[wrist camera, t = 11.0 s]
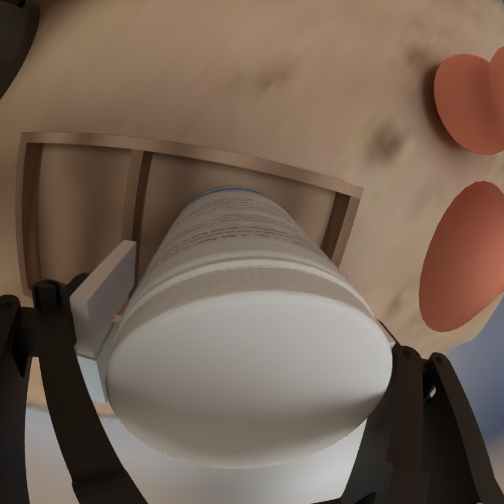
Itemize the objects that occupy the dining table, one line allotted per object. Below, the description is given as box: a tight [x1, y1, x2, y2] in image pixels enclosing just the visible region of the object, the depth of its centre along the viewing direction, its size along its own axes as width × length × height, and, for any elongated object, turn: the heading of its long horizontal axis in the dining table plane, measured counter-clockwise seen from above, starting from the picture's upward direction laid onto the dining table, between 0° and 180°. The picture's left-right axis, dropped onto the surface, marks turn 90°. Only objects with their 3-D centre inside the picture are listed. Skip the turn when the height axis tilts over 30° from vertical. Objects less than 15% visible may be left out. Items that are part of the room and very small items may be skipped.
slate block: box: [74, 322, 118, 404], centre depth 21 cm, size 6×6×6 cm
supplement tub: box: [105, 187, 392, 469], centre depth 14 cm, size 10×10×15 cm
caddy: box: [16, 132, 363, 323], centre depth 19 cm, size 26×14×3 cm, turn 77°
